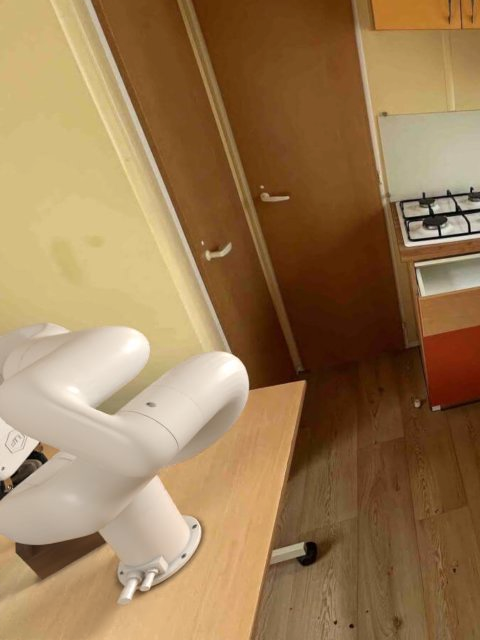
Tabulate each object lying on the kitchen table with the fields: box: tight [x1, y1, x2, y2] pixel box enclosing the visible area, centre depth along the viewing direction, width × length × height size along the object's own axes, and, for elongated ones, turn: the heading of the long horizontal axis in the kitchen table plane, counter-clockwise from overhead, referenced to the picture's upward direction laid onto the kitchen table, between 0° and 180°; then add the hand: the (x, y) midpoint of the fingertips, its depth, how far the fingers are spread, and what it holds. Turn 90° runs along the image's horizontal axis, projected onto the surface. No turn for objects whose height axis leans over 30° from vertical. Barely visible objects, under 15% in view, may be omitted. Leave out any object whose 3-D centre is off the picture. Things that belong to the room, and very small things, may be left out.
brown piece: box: [14, 531, 107, 581], centre depth 81 cm, size 9×12×9 cm
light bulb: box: [0, 459, 42, 486], centre depth 76 cm, size 6×6×15 cm
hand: (29, 485), depth 75 cm, fingers closed on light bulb, 5 cm apart
